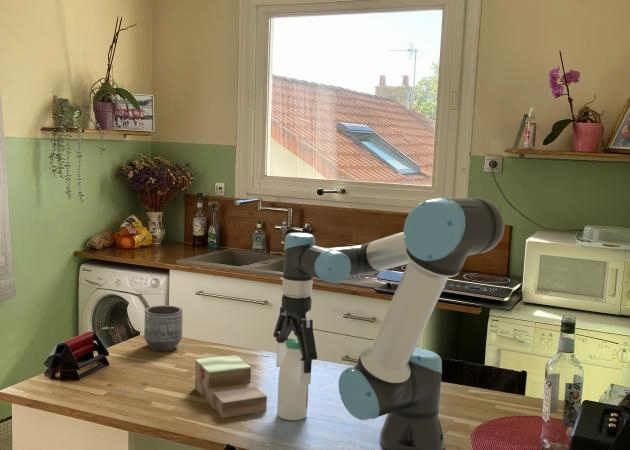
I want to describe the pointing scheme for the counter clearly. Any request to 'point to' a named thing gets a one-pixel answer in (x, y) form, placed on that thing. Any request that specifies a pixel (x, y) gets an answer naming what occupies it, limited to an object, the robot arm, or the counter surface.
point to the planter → (163, 327)
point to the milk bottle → (291, 385)
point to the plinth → (228, 386)
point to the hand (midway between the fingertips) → (292, 375)
